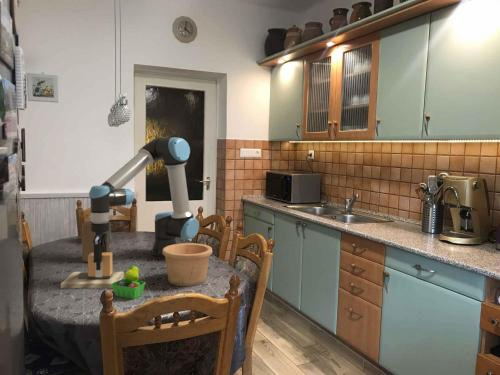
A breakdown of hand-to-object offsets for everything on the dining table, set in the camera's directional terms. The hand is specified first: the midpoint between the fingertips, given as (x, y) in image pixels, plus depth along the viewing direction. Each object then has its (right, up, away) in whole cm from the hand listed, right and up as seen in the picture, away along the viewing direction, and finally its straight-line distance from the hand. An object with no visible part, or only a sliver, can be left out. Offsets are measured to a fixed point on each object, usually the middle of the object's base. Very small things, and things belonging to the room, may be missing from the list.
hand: (100, 274), depth 173 cm
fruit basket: (+17, -5, -14) cm, 22 cm away
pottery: (+37, -4, +6) cm, 37 cm away
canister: (-27, +4, +70) cm, 76 cm away
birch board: (-3, -3, 0) cm, 4 cm away
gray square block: (-7, -1, -1) cm, 7 cm away
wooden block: (-15, 0, +33) cm, 36 cm away
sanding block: (0, -1, 0) cm, 1 cm away
